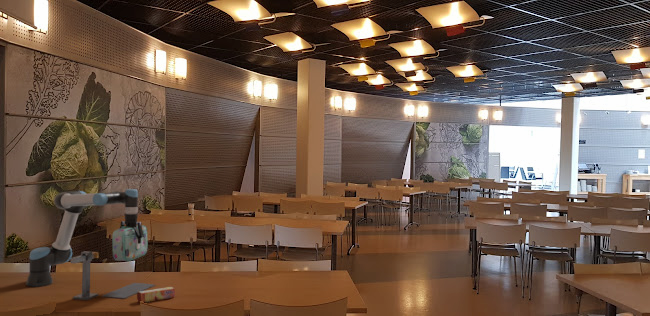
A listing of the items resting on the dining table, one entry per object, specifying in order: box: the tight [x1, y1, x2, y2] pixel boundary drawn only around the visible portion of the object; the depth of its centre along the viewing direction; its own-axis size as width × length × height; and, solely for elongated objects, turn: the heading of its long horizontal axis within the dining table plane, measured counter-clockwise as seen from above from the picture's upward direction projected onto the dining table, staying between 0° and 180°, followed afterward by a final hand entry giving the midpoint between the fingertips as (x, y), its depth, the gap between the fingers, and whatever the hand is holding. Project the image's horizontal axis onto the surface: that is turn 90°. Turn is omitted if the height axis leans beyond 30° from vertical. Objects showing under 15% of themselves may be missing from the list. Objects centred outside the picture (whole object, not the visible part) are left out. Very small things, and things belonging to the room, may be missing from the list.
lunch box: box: [111, 225, 149, 262], centre depth 306 cm, size 27×10×21 cm, turn 168°
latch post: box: [72, 250, 100, 301], centre depth 290 cm, size 10×10×28 cm
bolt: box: [70, 251, 100, 264], centre depth 288 cm, size 6×18×3 cm, turn 166°
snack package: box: [136, 286, 176, 303], centre depth 288 cm, size 21×7×7 cm, turn 130°
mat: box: [101, 282, 156, 300], centre depth 306 cm, size 16×32×1 cm, turn 166°
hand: (130, 248), depth 306 cm, fingers closed on lunch box, 10 cm apart
